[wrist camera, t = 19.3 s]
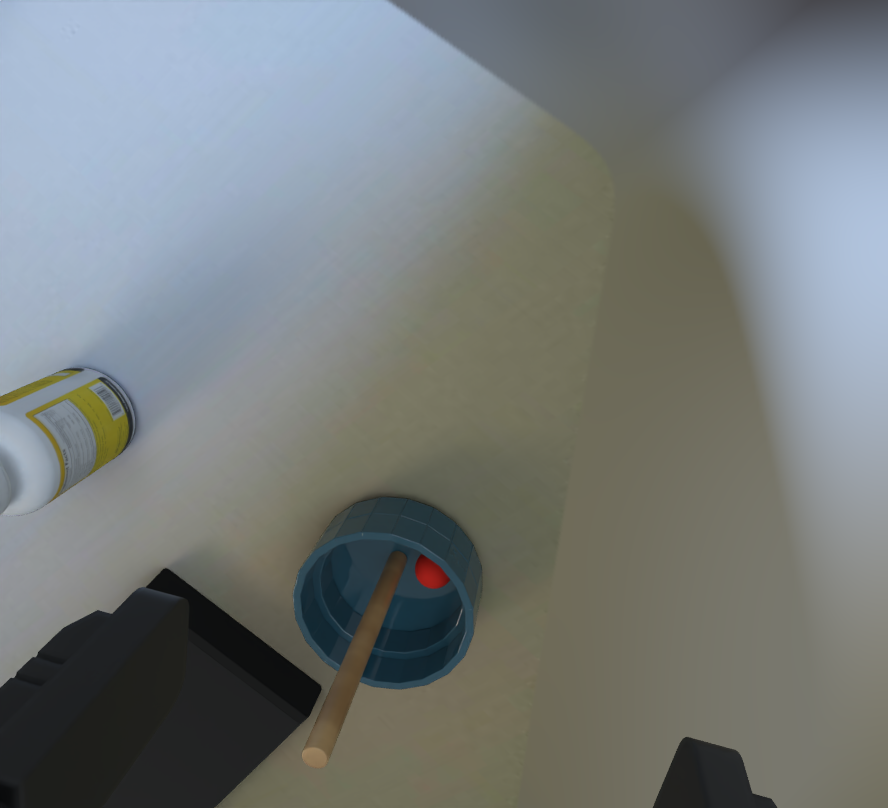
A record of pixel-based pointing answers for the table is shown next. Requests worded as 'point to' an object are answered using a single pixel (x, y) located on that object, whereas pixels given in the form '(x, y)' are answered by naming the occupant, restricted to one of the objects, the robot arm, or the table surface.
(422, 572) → the ball
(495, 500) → the table surface
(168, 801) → the external hard drive
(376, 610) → the stick
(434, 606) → the bowl
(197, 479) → the table surface
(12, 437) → the pill bottle
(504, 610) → the table surface
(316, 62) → the table surface
